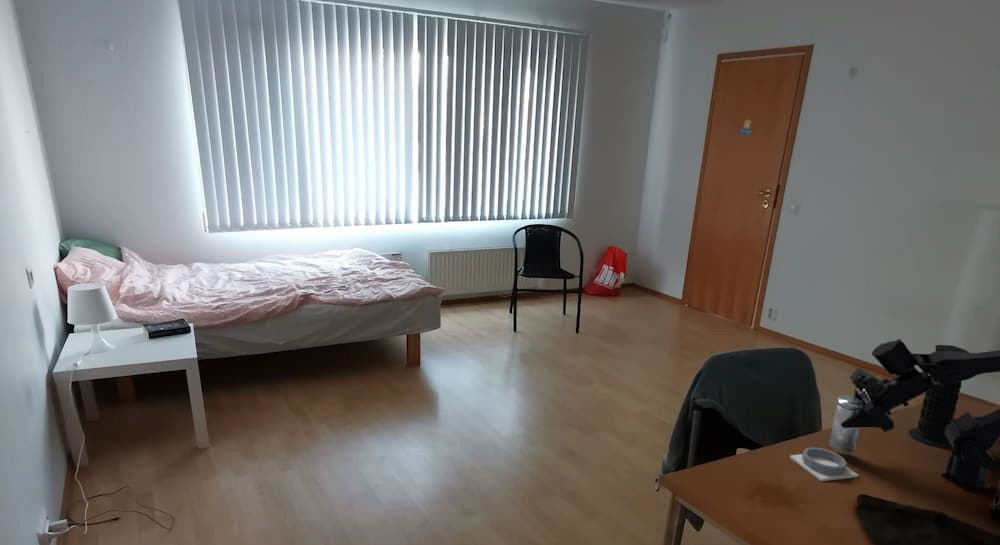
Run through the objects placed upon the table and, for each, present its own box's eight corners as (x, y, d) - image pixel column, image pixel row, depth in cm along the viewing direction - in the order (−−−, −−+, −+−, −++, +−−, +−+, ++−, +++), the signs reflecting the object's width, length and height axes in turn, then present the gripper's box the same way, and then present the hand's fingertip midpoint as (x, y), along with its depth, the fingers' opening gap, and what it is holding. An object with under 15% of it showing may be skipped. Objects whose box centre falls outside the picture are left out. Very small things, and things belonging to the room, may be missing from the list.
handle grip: (920, 445, 143) (964, 451, 141) (942, 350, 137) (987, 354, 135) (901, 427, 153) (941, 432, 151) (920, 337, 147) (963, 341, 145)
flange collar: (857, 477, 128) (859, 467, 127) (821, 481, 125) (823, 471, 125) (824, 454, 137) (825, 444, 137) (789, 457, 135) (791, 448, 134)
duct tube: (860, 451, 135) (869, 404, 132) (841, 453, 133) (850, 406, 131) (842, 440, 140) (850, 394, 137) (824, 442, 139) (832, 396, 136)
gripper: (870, 349, 138) (814, 381, 145) (886, 375, 122) (821, 410, 128) (902, 384, 137) (843, 415, 144) (922, 415, 120) (855, 448, 127)
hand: (840, 421), depth 136 cm, fingers closed on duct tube, 5 cm apart
